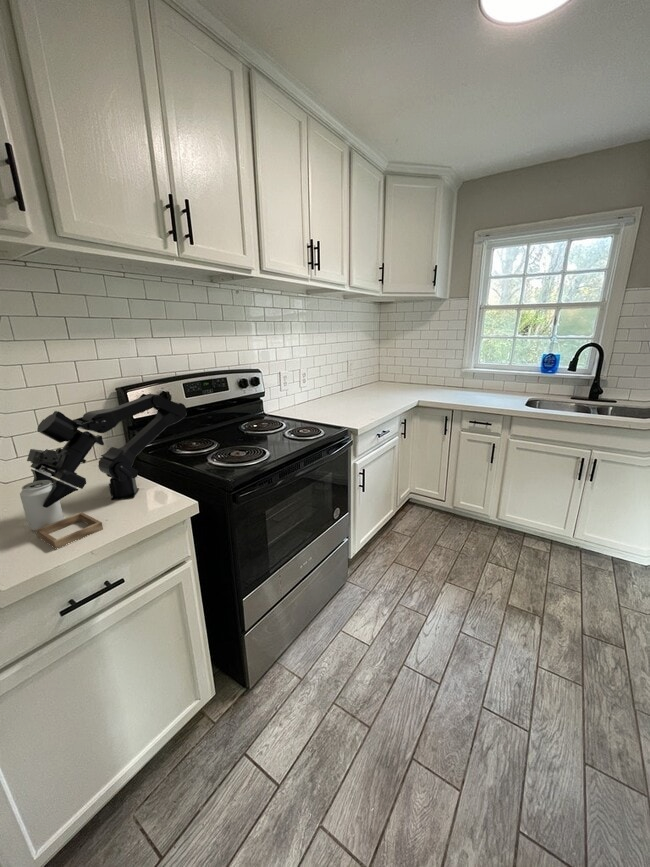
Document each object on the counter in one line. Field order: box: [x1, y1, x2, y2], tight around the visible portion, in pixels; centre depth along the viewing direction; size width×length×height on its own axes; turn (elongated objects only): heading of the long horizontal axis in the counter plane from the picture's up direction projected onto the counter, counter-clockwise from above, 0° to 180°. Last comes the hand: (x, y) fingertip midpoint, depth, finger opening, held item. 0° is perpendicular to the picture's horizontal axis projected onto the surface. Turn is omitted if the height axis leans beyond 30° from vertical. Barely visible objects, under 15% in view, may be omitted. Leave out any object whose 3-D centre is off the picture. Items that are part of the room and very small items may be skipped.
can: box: [19, 480, 65, 532], centre depth 92 cm, size 8×8×12 cm
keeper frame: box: [35, 512, 104, 550], centre depth 90 cm, size 11×11×2 cm
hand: (36, 502), depth 91 cm, fingers open, 9 cm apart
